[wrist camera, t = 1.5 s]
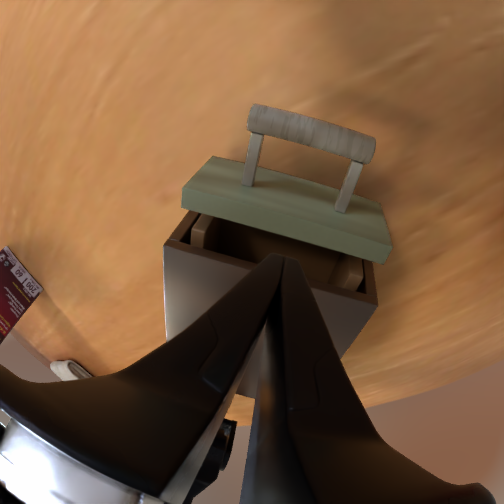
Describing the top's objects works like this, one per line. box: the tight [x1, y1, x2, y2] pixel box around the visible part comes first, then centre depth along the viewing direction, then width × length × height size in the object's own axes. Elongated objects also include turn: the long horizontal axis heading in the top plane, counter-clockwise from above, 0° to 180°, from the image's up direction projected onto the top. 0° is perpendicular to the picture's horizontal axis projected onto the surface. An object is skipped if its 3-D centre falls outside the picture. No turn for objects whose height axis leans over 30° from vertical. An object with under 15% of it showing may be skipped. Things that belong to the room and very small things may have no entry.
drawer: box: [181, 104, 393, 291], centre depth 19 cm, size 18×11×5 cm, turn 170°
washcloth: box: [50, 360, 92, 381], centre depth 52 cm, size 12×18×3 cm, turn 33°
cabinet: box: [163, 210, 378, 399], centre depth 22 cm, size 14×12×6 cm
